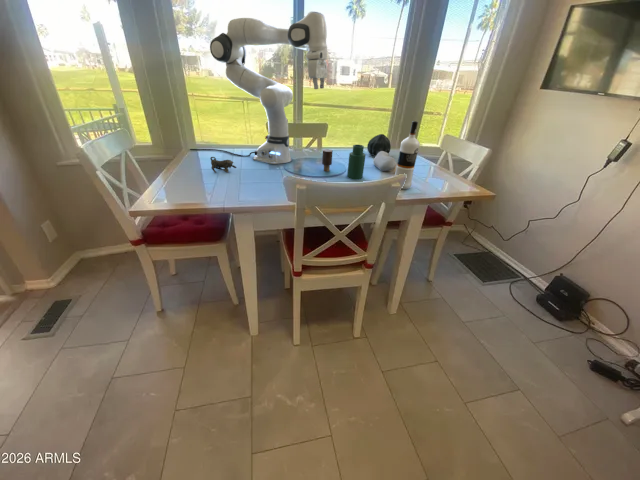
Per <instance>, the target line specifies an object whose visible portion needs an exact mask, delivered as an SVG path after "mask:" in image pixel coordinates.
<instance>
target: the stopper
mask: <svg viewBox="0 0 640 480" xmlns="http://www.w3.org/2000/svg"><path fill="white" fill-rule="evenodd" d="M321 159H322V160H321V164H322V165H323V172H325V173H328V172H330V169H331V168H330V166H332V164H333V150H332V149H330V148H324V149H322V157H321Z"/></svg>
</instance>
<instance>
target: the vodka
mask: <svg viewBox="0 0 640 480" xmlns="http://www.w3.org/2000/svg"><path fill="white" fill-rule="evenodd" d="M410 125H411V126H410V129H409V134H408V136H407V137H405V138H404V139H403V140H401V142H400V148H399V154H398V158H397V163H396V165H395V173H394V176H395V175H399V174H404V173H405V174H407V178H406V181H405V184H404V186H403V188H402V189H401V190H409V189H410V188H411V187H412V185H413V182H412V180H413V175H414V170H415V166H416V161H417V157H418V153H419V149H420V147H421V144H420V141H419V139H417V138H416V134H417V129H418V125H419V121H417V120H412V121H411V124H410Z"/></svg>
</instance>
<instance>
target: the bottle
mask: <svg viewBox="0 0 640 480" xmlns="http://www.w3.org/2000/svg"><path fill="white" fill-rule="evenodd" d="M364 148H365V146H364V145H362V144H353V145H352V151H351V152H349V155H348V164H347V173H346V177H347V178H348V179H350V180H353V181H357V180H363V177H364V170H365V162H366V153H364Z"/></svg>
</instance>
